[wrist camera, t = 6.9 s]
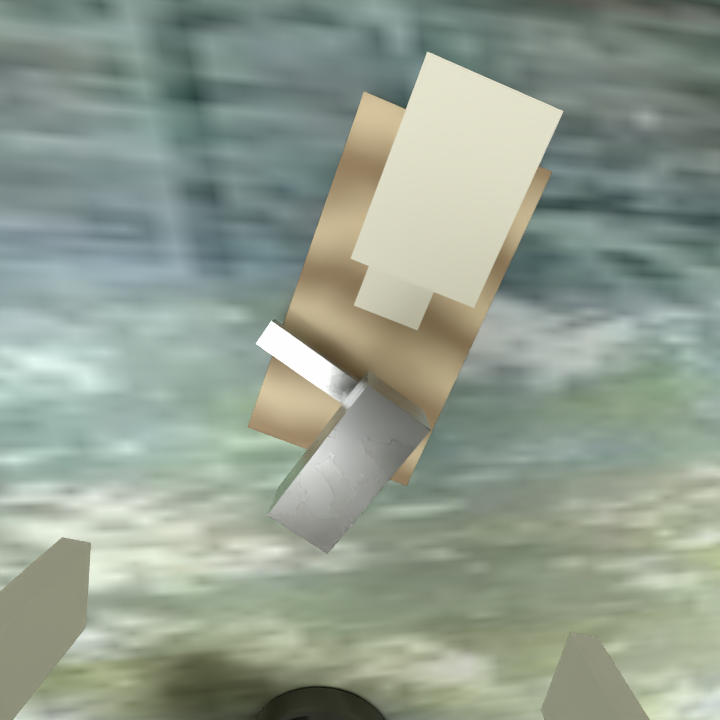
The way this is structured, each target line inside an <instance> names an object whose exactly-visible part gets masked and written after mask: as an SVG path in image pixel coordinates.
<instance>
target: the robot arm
mask: <svg viewBox="0 0 720 720" xmlns="http://www.w3.org/2000/svg"><path fill="white" fill-rule="evenodd" d="M90 550H91V543H89V542H84V541H78V540H73V539H68V538H61V539H60V540H59V541H57V542H56V543H55V544H54V545H53V546H52V547H51V548H49V549H48V550H47V551H46V552H45V553H44V554H43V555H41V556H40V557H39V558H38V559H37V560H36V561H35V562H33V563H32V564H31V565H30V566H29V567H28V568H26V569H25V570H24V571H23V572H22V573H21V574H20V575H18V576H17V577H16V578H15V579H14V580H13V581H12V582H10V583H9V584H8V585H7V586H6V587H5V588H4V589H2V590H1V591H0V720H13V719H14V718H15V716H16V715H17V714H18V712H19V711H20V710H21V709H22V707H23V706H24V705H25V704H26V702H27V701H28V700H29V699H30V697H31V696H32V695H33V694H34V692H35V691H36V690H37V688H38V687H39V686H40V685H41V683H42V682H43V681H44V680H45V678H46V677H47V676H48V675H49V673H50V672H51V671H52V670H53V668H54V667H55V666H56V664H57V663H58V662H59V661H60V659H61V658H62V657H63V656H64V654H65V653H66V652H67V651H68V649H69V648H70V647H71V646H72V644H73V643H74V642H75V640H76V639H77V638H78V637H79V635H80V634H81V633H82V632H83V630H84V629H85V628H86V614H87V598H88V582H89V566H90ZM541 711H542V714H543V716H544V719H545V720H649V718H648V716H647V715H646V713H645V712H644V710H643V708H642V707H641V705H640V704H639V702H638V700H637V699H636V697H635V696H634V694H633V692H632V691H631V689H630V688H629V686H628V684H627V683H626V681H625V680H624V678H623V676H622V675H621V673H620V672H619V670H618V669H617V667H616V665H615V664H614V662H613V661H612V659H611V657H610V656H609V654H608V653H607V651H606V649H605V648H604V646H603V645H602V643H601V641H600V640H599V638H598V637H597V636H591V635H586V634H580V633H575V632H570V634H569V637H568V639H567V642H566V645H565V647H564V650H563V652H562V655H561V658H560V660H559V663H558V666H557V668H556V671H555V674H554V676H553V679H552V682H551V684H550V687H549V690H548V692H547V695H546V697H545V700H544V703H543V705H542V708H541ZM256 720H384V718H383V717H382V716H381V715H380V713H379V712H378V711H377V710H376V709H375V708H374V707H372V706H371V705H370V704H368V703H367V702H366V701H364V700H362V699H360V698H359V697H357V696H354V695H352V694H349V693H347V692H343V691H340V690H335V689H329V688H306V689H300V690H296V691H292V692H289V693H286V694H284V695H282V696H280V697H278V698H276V699H274V700H273V701H271V702H270V703H269V704H268V705H267V706H265V707H264V708H263V710H262V711H261V712H260V713H259V715H258V716H257V718H256Z"/></svg>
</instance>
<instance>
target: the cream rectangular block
mask: <svg viewBox="0 0 720 720" xmlns="http://www.w3.org/2000/svg"><path fill="white" fill-rule="evenodd" d="M562 113H563V111H562V110H559V109H557V108H555V107H552V106H550V105H548V104H546V103H543V102H541V101H539V100H536V99H534V98H532V97H530V96H527V95H525V94H523V93H521V92H518V91H516V90H514V89H511V88H509V87H507V86H505V85H502V84H500V83H498V82H495V81H493V80H491V79H489V78H486V77H484V76H482V75H479V74H477V73H475V72H473V71H470V70H468V69H466V68H463V67H461V66H459V65H457V64H454V63H452V62H450V61H447V60H445V59H443V58H441V57H438V56H436V55H434V54H432V53H429V52H427V54H426V57H425V60H424V62H423V65H422V68H421V70H420V73H419V76H418V78H417V81H416V84H415V86H414V89H413V92H412V95H411V97H410V100H409V103H408V105H407V108H406V111H405V113H404V116H403V119H402V121H401V124H400V127H399V129H398V132H397V135H396V138H395V140H394V143H393V146H392V148H391V151H390V154H389V156H388V159H387V162H386V164H385V167H384V170H383V172H382V175H381V178H380V181H379V183H378V186H377V189H376V191H375V194H374V197H373V199H372V202H371V205H370V207H369V210H368V213H367V216H366V218H365V221H364V224H363V226H362V229H361V232H360V234H359V237H358V240H357V242H356V245H355V248H354V250H353V253H352V256H351V259H353V260H355V261H358V262H360V263H363V264H365V265H368V266H369V267H368V270H367V272H366V275H365V277H364V280H363V283H362V285H361V288H360V290H359V293H358V296H357V298H356V301H355V303H354V306H357V307H359V308H362V309H364V310H367V311H369V312H372V313H374V314H377V315H379V316H382V317H385V318H387V319H390V320H392V321H395V322H397V323H400V324H402V325H405V326H407V327H410V328H412V329H415V330H418V328H419V326H420V323H421V321H422V319H423V316H424V314H425V312H426V309H427V307H428V305H429V302H430V300H431V298H432V295H433V293H434V292H435V293H438V294H440V295H443V296H445V297H448V298H450V299H453V300H455V301H458V302H460V303H463V304H465V305H468V306H470V307H473V308H474V307H475V305H476V302H477V300H478V298H479V296H480V294H481V291H482V289H483V287H484V285H485V283H486V280H487V278H488V276H489V274H490V272H491V269H492V267H493V265H494V263H495V261H496V258H497V256H498V254H499V252H500V250H501V247H502V245H503V243H504V241H505V239H506V236H507V234H508V232H509V230H510V228H511V225H512V223H513V221H514V219H515V217H516V214H517V212H518V210H519V208H520V206H521V203H522V201H523V199H524V197H525V195H526V192H527V190H528V188H529V186H530V184H531V181H532V179H533V177H534V175H535V173H536V170H537V168H538V166H539V164H540V162H541V159H542V157H543V155H544V153H545V151H546V148H547V146H548V144H549V142H550V140H551V137H552V135H553V133H554V131H555V129H556V126H557V124H558V122H559V120H560V118H561V115H562Z"/></svg>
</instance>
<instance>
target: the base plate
mask: <svg viewBox="0 0 720 720" xmlns="http://www.w3.org/2000/svg"><path fill="white" fill-rule="evenodd" d="M405 111H406V109H404V108H401V107H399V106H397V105H394V104H392V103H390V102H387V101H385V100H383V99H380V98H378V97H376V96H373V95H371V94H369V93H366V92H364V93H363V96H362V99H361V102H360V105H359V108H358V111H357V114H356V116H355V119H354V122H353V125H352V128H351V131H350V134H349V137H348V139H347V142H346V145H345V148H344V151H343V154H342V157H341V160H340V163H339V165H338V168H337V171H336V174H335V177H334V180H333V183H332V186H331V189H330V191H329V194H328V197H327V200H326V203H325V206H324V209H323V212H322V214H321V217H320V220H319V223H318V226H317V229H316V232H315V235H314V238H313V240H312V243H311V246H310V249H309V252H308V255H307V258H306V261H305V263H304V266H303V269H302V272H301V275H300V278H299V281H298V284H297V287H296V289H295V292H294V295H293V298H292V301H291V304H290V307H289V310H288V312H287V315H286V318H285V321H284V324H283V326H285V327H286V328H288V329H289V330H291V331H292V332H293V333H295V334H296V335H298V336H299V337H300V338H302V339H303V340H305V341H306V342H307V343H309V344H310V345H312V346H313V347H314V348H316V349H317V350H319V351H320V352H321V353H323V354H324V355H326V356H327V357H328V358H330V359H331V360H333V361H334V362H336V363H337V364H338V365H340V366H341V367H343V368H344V369H345V370H347V371H348V372H350V373H351V374H352V375H354V376H355V377H358V378H361V379H362V377H363V376H364V375H365V374H366V372H367V371H370V372H371V373H372V374H374V375H375V376H377V377H378V378H379V379H381V380H382V381H384V382H385V383H386V384H388V385H389V386H391V387H392V388H393V389H395V390H396V391H398V392H399V393H400V394H402V395H403V396H405V397H406V398H407V399H409V400H410V401H411V402H413V403H414V404H416V405H417V406H418V407H420V408H421V409H423V410H424V412H425V415H426V418H427V420H428V423H429V426H430V428H431V431H430V432H429V433H428V434H427V435H426V437H425V438H424V439H423V440H422V441H421V443H420V444H419V445H418V446H417V447H416V449H415V450H414V451H413V452H412V453H411V455H410V456H409V457H408V458H407V459H406V461H405V462H404V463H403V464H402V465H401V467H400V468H399V469H398V470H397V471H396V473H395V474H394V475H393V476H392V477H391V479H390V480H392V481H395V482H398V483H401V484H403V485H406V486H407V484H408V482H409V480H410V477H411V475H412V473H413V471H414V469H415V467H416V464H417V462H418V460H419V458H420V456H421V454H422V451H423V449H424V447H425V445H426V443H427V441H428V439H429V436H430V434H431V432H432V430H433V428H434V426H435V423H436V421H437V419H438V417H439V415H440V413H441V410H442V408H443V406H444V404H445V402H446V400H447V398H448V395H449V393H450V391H451V389H452V387H453V385H454V382H455V380H456V378H457V376H458V374H459V372H460V369H461V367H462V365H463V363H464V361H465V359H466V357H467V354H468V352H469V350H470V348H471V346H472V344H473V341H474V339H475V337H476V335H477V333H478V331H479V328H480V326H481V324H482V322H483V320H484V318H485V316H486V313H487V311H488V309H489V307H490V305H491V303H492V300H493V298H494V296H495V294H496V292H497V290H498V287H499V285H500V283H501V281H502V279H503V277H504V275H505V272H506V270H507V268H508V266H509V264H510V262H511V259H512V257H513V255H514V253H515V251H516V249H517V246H518V244H519V242H520V240H521V238H522V236H523V234H524V231H525V229H526V227H527V225H528V223H529V221H530V218H531V216H532V214H533V212H534V210H535V208H536V205H537V203H538V201H539V199H540V197H541V195H542V193H543V190H544V188H545V186H546V184H547V182H548V180H549V177H550V175H551V173H552V172H551V171H549V170H546V169H544V168H542V167H539V166H538V168H537V170H536V173H535V175H534V177H533V179H532V181H531V184H530V186H529V188H528V190H527V192H526V195H525V197H524V199H523V201H522V203H521V206H520V208H519V210H518V212H517V214H516V217H515V219H514V221H513V223H512V225H511V228H510V230H509V232H508V234H507V236H506V239H505V241H504V243H503V245H502V247H501V250H500V252H499V254H498V256H497V258H496V261H495V263H494V265H493V267H492V269H491V272H490V274H489V276H488V278H487V280H486V283H485V285H484V287H483V289H482V291H481V294H480V296H479V298H478V300H477V302H476V305H475V307H474V308H473V307H470V306H468V305H465V304H463V303H460V302H458V301H455V300H453V299H450V298H448V297H445V296H443V295H440V294H438V293H435V292H434V293H433V295H432V298H431V300H430V302H429V305H428V307H427V309H426V312H425V314H424V316H423V319H422V321H421V323H420V326H419V328H418V330H415V329H412V328H410V327H407V326H405V325H402V324H400V323H397V322H395V321H392V320H390V319H387V318H385V317H382V316H379V315H377V314H374V313H372V312H369V311H367V310H364V309H362V308H359V307H357V306H354V303H355V301H356V298H357V296H358V293H359V290H360V288H361V285H362V283H363V280H364V277H365V275H366V272H367V270H368V267H369V266H368V265H365V264H363V263H360V262H358V261H355V260H353V259H351V256H352V253H353V250H354V248H355V245H356V242H357V240H358V237H359V234H360V232H361V229H362V226H363V224H364V221H365V218H366V216H367V213H368V210H369V207H370V205H371V202H372V199H373V197H374V194H375V191H376V189H377V186H378V183H379V181H380V178H381V175H382V172H383V170H384V167H385V164H386V162H387V159H388V156H389V154H390V151H391V148H392V146H393V143H394V140H395V138H396V135H397V132H398V129H399V127H400V124H401V121H402V119H403V116H404V113H405ZM340 406H341V403H340V402H339V401H337V400H336V399H334V398H333V397H332V396H330V395H329V394H327V393H326V392H324V391H323V390H322V389H320V388H319V387H317V386H316V385H314V384H313V383H312V382H310V381H309V380H307V379H306V378H304V377H303V376H302V375H300V374H299V373H297V372H296V371H294V370H293V369H291V368H290V367H289V366H287V365H286V364H284V363H283V362H281V361H280V360H279V359H277V358H276V357H274V356H272V359H271V361H270V364H269V367H268V370H267V373H266V376H265V379H264V382H263V385H262V387H261V390H260V393H259V396H258V399H257V402H256V405H255V408H254V410H253V413H252V416H251V419H250V422H249V425H248V428H251V429H254V430H256V431H259V432H262V433H265V434H267V435H270V436H273V437H275V438H278V439H281V440H284V441H286V442H289V443H292V444H295V445H297V446H300V447H303V448H305V449H308V448H309V447H310V446H311V444H312V443H313V442H314V440H315V439H316V438H317V436H318V435H319V434H320V432H321V431H322V430H323V429H324V427H325V426H326V425H327V423H328V422H329V421H330V419H331V418H332V417H333V415H334V414H335V413H336V412H337V410H338V409H339V408H340Z"/></svg>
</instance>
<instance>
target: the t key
mask: <svg viewBox="0 0 720 720" xmlns="http://www.w3.org/2000/svg"><path fill="white" fill-rule="evenodd" d="M256 344H257V345H259V346H260V347H261V348H263V349H264V350H266V351H267V352H269V353H270V354H271V355H273V356H274V357H276V358H277V359H279V360H280V361H281V362H283V363H284V364H286V365H287V366H289V367H290V368H291V369H293V370H294V371H296V372H297V373H299V374H300V375H302V376H303V377H304V378H306V379H307V380H309V381H310V382H312V383H313V384H314V385H316V386H317V387H319V388H320V389H322V390H323V391H324V392H326V393H327V394H329V395H330V396H332V397H333V398H334V399H336V400H337V401H339V402H340V403H341V406H340V408H339V409H338V410H337V412H336V413H335V414H334V415H333V417H332V418H331V419H330V421H329V422H328V423H327V425H326V426H325V427H324V429H323V430H322V431H321V432H320V434H319V435H318V436H317V438H316V439H315V440H314V442H313V443H312V444H311V446H310V447H309V448H308V450H307V451H306V452H305V453H304V455H303V456H302V457H301V459H300V460H299V461H298V463H297V464H296V465H295V467H294V468H293V469H292V470H291V472H290V473H289V474H288V476H287V477H286V478H285V480H284V481H283V482H282V484H281V485H280V486H279V488H278V490H277V493H276V495H275V498H274V500H273V502H272V505H271V507H270V510H269V512H268V516H269V517H271V518H273V519H274V520H276V521H277V522H279V523H280V524H282V525H283V526H285V527H287V528H288V529H290V530H291V531H293V532H294V533H296V534H297V535H299V536H301V537H302V538H304V539H305V540H307V541H308V542H310V543H311V544H313V545H315V546H316V547H318V548H319V549H321V550H322V551H324V552H325V553H327V554H328V553H329V552H330V550H331V549H332V548H333V547H334V546H335V544H336V543H337V542H338V541H339V540H340V538H341V537H342V536H343V535H344V534H345V532H346V531H347V530H348V529H349V528H350V526H351V525H352V524H353V523H354V522H355V520H356V519H357V518H358V517H359V516H360V514H361V513H362V512H363V511H364V510H365V508H366V507H367V506H368V505H369V504H370V503H371V501H372V500H373V499H374V498H375V497H376V495H377V494H378V493H379V492H380V491H381V489H382V488H383V487H384V486H385V485H386V483H387V482H388V481H389V480H390V479H391V477H392V476H393V475H394V474H395V473H396V471H397V470H398V469H399V468H400V467H401V465H402V464H403V463H404V462H405V461H406V459H407V458H408V457H409V456H410V455H411V453H412V452H413V451H414V450H415V449H416V447H417V446H418V445H419V444H420V443H421V441H422V440H423V439H424V438H425V437H426V435H427V434H428V433H429V432H430V431H431V428H430V426H429V423H428V420H427V418H426V415H425V412H424V410H423V409H421V408H420V407H418V406H417V405H416V404H414V403H413V402H411V401H410V400H409V399H407V398H406V397H405V396H403V395H402V394H400V393H399V392H398V391H396V390H395V389H393V388H392V387H391V386H389V385H388V384H386V383H385V382H384V381H382V380H381V379H379V378H378V377H377V376H375V375H374V374H372V373H371V372H370V371H367V372H366V374H365V375H364V376H363V377H362V379H361V378H358V377H355V376H354V375H352V374H351V373H350V372H348V371H347V370H345V369H344V368H343V367H341V366H340V365H338V364H337V363H336V362H334V361H333V360H331V359H330V358H328V357H327V356H326V355H324V354H323V353H321V352H320V351H319V350H317V349H316V348H314V347H313V346H312V345H310V344H309V343H307V342H306V341H305V340H303V339H302V338H300V337H299V336H298V335H296V334H295V333H293V332H292V331H291V330H289V329H288V328H286V327H285V326H283V325H282V324H281V323H279V322H278V321H276V320H275V319H274V320H272V321H271V322H270V324H269V325H268V327H267V328H266V330H265V331H264V333H263V334H262V335H261V337H260V338H259V340H258V341H257V343H256Z"/></svg>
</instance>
